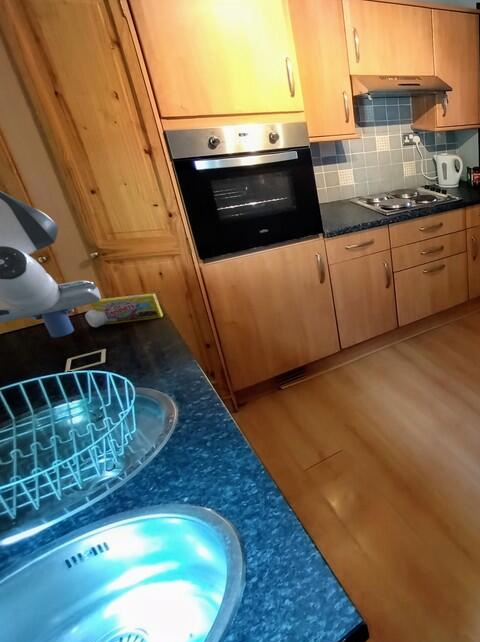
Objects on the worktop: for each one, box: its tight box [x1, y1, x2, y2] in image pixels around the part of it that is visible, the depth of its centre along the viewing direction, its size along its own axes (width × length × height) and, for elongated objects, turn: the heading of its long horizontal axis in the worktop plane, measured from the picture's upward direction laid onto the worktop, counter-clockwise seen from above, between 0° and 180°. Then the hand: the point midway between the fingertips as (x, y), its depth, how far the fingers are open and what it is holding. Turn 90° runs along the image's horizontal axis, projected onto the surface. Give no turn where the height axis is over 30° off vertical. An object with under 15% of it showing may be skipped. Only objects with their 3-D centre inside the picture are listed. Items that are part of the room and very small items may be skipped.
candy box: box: [90, 292, 164, 326], centre depth 141 cm, size 16×2×8 cm, turn 108°
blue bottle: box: [41, 309, 75, 338], centre depth 113 cm, size 4×4×12 cm
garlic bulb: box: [84, 309, 108, 328], centre depth 139 cm, size 6×6×5 cm
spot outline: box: [64, 348, 107, 373], centre depth 122 cm, size 8×8×1 cm
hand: (54, 313), depth 113 cm, fingers closed on blue bottle, 4 cm apart
